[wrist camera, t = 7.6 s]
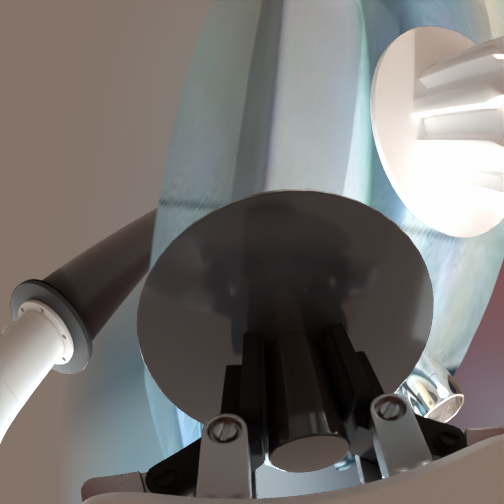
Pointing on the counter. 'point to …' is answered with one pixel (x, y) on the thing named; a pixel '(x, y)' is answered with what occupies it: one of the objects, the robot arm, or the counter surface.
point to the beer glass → (432, 390)
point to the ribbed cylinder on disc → (442, 127)
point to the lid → (285, 311)
